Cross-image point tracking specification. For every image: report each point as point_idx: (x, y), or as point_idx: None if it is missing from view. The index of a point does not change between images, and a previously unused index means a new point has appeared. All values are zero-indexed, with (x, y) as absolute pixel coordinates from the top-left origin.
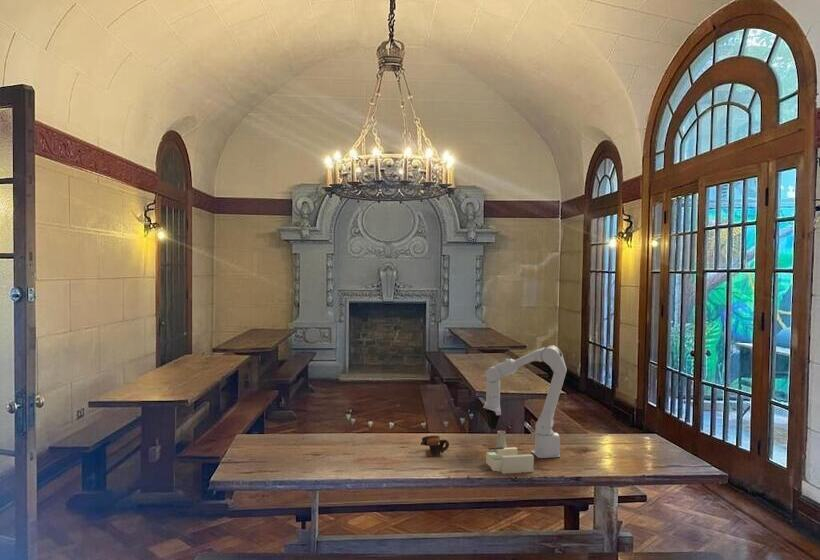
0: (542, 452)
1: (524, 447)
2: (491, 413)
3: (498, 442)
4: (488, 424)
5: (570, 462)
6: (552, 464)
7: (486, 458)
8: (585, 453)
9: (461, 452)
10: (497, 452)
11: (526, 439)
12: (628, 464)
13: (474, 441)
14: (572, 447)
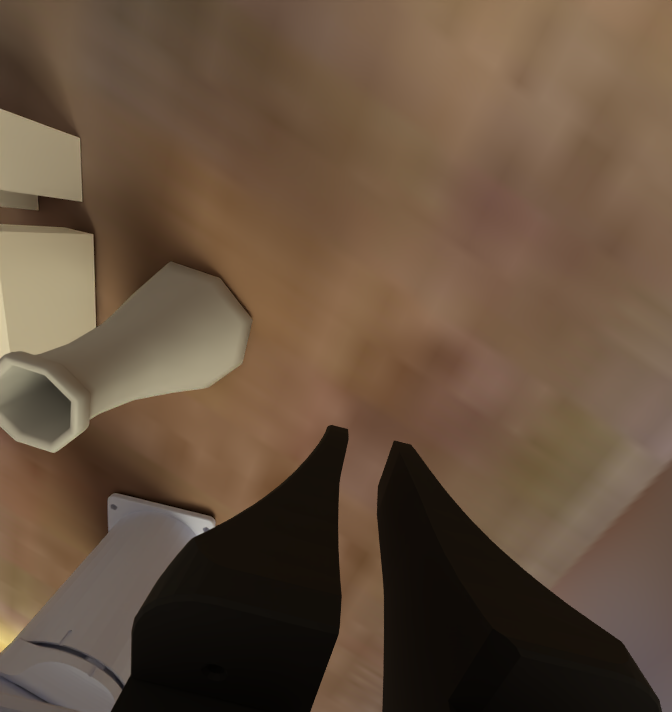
0: (106, 535)
1: None
2: (133, 629)
3: (101, 324)
4: (415, 457)
5: (48, 568)
6: (28, 493)
7: (34, 122)
8: None
9: (366, 61)
10: (2, 226)
11: None
12: None
13: (547, 333)
14: None
